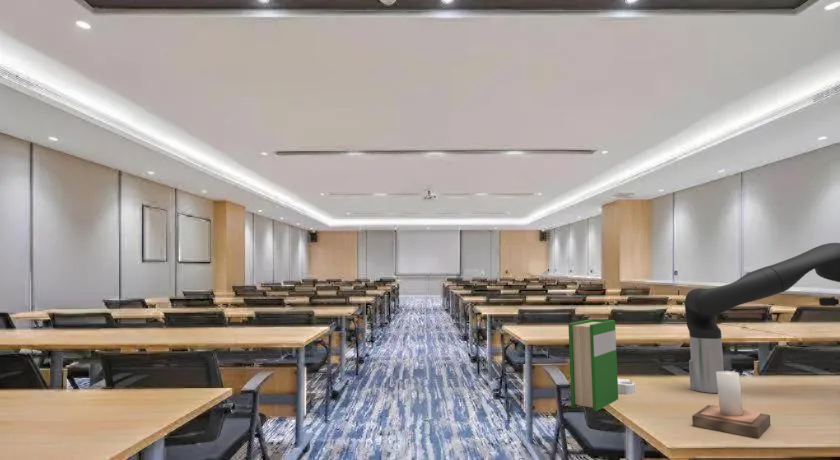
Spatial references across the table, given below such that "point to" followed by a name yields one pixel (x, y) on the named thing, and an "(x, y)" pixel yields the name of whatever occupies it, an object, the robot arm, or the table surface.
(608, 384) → the hardback book
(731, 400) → the ceramic cylinder
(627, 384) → the white brass knuckles
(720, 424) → the walnut base
